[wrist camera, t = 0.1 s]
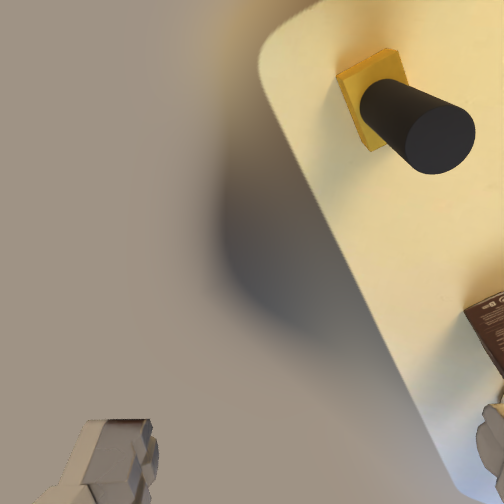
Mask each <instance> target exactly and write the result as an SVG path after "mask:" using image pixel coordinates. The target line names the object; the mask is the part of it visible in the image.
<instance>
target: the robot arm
mask: <svg viewBox="0 0 504 504" xmlns="http://www.w3.org/2000/svg"><path fill="white" fill-rule="evenodd" d="M482 415H483V417H484V419H485V422H484V423H482V424H481V425H480V426H479V427H478V429H477V433H476V443H477V449H478V452H479V455H480V458H481V460H482V462H483V464H484V466H485V468H486V469H487V470H489V471H490V472H491V473H492V474H494V475H495V476H496V477H497V481H496V486H495V488H496V490H497V491H498V493H499V495H500V497H501V499H502V501H503V503H504V403H499V404H488V405H487V406H485V407H484V410H483V413H482ZM152 428H153V427H152V424H151V421H150V419H110V420H109V419H108V420H88V421H87V422H86V423H85V425H84V426H83V427H82V430H81V432H80V434H79V437H78V439H77V441H76V444H75V446H74V448H73V450H72V453H71V455H70V457H69V460H68V462H67V465H66V467H65V469H64V471H63V474H62V476H61V478H60V481H59V483H58V485H57V486H51V487H49V489H47V490H46V491H45V492H44V493H43V494H42V495H41V496H40V497H39V498H38V499H37V500H36V501H35V502H33V503H32V504H150V502H151V495H150V492H149V489H148V487H149V486H150V485H151V484H152V483H153V482H154V480H155V479H156V475H157V470H158V460H159V451H158V444H157V440H156V439H155V438H154V437H152V436H151V433H152Z"/></svg>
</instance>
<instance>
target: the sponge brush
mask: <svg viewBox="0 0 504 504" xmlns="http://www.w3.org/2000/svg"><path fill="white" fill-rule="evenodd" d="M336 78H337V81H338V83H339V86H340V88H341V91H342V93H343V96H344V98H345V101H346V103H347V106H348V108H349V111H350V113H351V116H352V118H353V121H354V123H355V126H356V128H357V131H358V133H359V136H360V138H361V141H362V143H363V144H364V145H365V146H366V147H367V148H368V149H369V151H370V152H372V151H374V150H376V149H378V148H380V147H382V146H384V145H386V144H388V145H389V146H390V147H391V148H392V149H394V150H395V151H396V152H397V153H398V154H399V155H400V156H401V157H402V158H403V159H404V160H405V161H406V162H407V163H408V164H410V165H411V166H412V167H413V168H414V169H415V170H417V171H419V172H421V173H424V174H440V173H444V172H447V171H449V170H451V169H453V168H455V167H456V166H458V165H459V164H460V163H461V162H462V161H463V160H464V159H465V158H466V157H467V155H468V154H469V152H470V151H471V149H472V147H473V144H474V140H475V125H474V122H473V119H472V118H471V116H470V115H469V114H468V113H467V112H466V111H465V110H464V109H462V108H460V107H457V106H455V105H453V104H450V103H448V102H446V101H443V100H441V99H439V98H436V97H434V96H432V95H429V94H427V93H425V92H422V91H420V90H418V89H415V88H413V87H411V86H409V84H408V81H407V78H406V75H405V71H404V68H403V65H402V62H401V59H400V56H399V53H398V51H396V50H392V49H387V48H386V49H384V50H382V51H380V52H378V53H376V54H375V55H373V56H371V57H369V58H367V59H365V60H364V61H362V62H360V63H358V64H356V65H355V66H353V67H351V68H349V69H347V70H345V71H344V72H342V73H340V74H338V75H336Z"/></svg>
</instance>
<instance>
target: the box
mask: <svg viewBox="0 0 504 504" xmlns="http://www.w3.org/2000/svg"><path fill="white" fill-rule="evenodd" d="M464 314H465V315H466V317H467V318H468V320H469V322H470V323H471V325H472V327H473V329H474V330H475V332H476V334H477V336H478V337H479V339H480V341H481V343H482V345H483V347H484V349H485V351H486V352H487V354H488V355H489V357H490V359H491V360H492V362H493V363H494V365H495V366H496V368H497V369H498V371H499V372H500V374H501V375H502V377H503V379H504V292H500V293H498V294H497V295H495V296H492V297H490V298H487V299H485V300H484V301H482V302H480V303H477V304H476V305H474V306H471V307H470V308H467V309H466V310H464Z"/></svg>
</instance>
